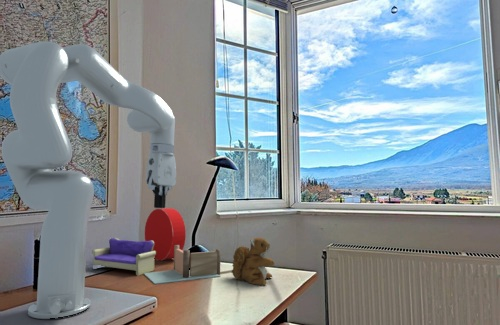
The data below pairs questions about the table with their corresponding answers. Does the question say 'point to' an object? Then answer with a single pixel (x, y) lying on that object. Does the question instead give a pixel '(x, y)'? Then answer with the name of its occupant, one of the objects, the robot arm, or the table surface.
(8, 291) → the table surface
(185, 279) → the mat
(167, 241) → the red thick disc
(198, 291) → the table surface
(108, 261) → the toy sofa
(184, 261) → the fixed panel
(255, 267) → the stuffed squirrel
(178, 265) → the panel
